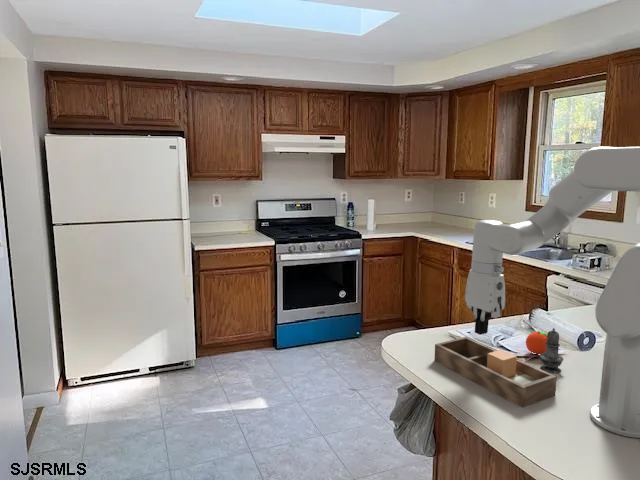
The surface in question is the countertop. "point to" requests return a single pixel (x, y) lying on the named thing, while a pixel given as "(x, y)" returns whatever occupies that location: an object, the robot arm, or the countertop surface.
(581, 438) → the countertop surface
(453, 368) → the wooden divided tray
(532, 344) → the clementine
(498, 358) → the block
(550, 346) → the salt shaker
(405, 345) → the countertop surface
